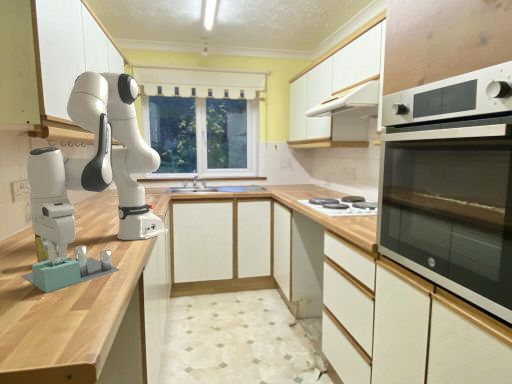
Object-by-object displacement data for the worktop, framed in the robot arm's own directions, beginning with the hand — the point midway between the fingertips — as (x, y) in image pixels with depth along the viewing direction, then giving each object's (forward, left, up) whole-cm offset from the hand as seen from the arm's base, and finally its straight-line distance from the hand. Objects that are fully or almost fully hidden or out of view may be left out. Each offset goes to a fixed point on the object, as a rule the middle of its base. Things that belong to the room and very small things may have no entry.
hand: (55, 253), depth 92 cm
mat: (-6, -5, -9) cm, 12 cm away
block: (0, 0, -9) cm, 9 cm away
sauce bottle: (-5, -20, -10) cm, 23 cm away
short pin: (-14, +1, -9) cm, 16 cm away
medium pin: (-7, 0, -9) cm, 11 cm away
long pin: (0, 0, -9) cm, 9 cm away
